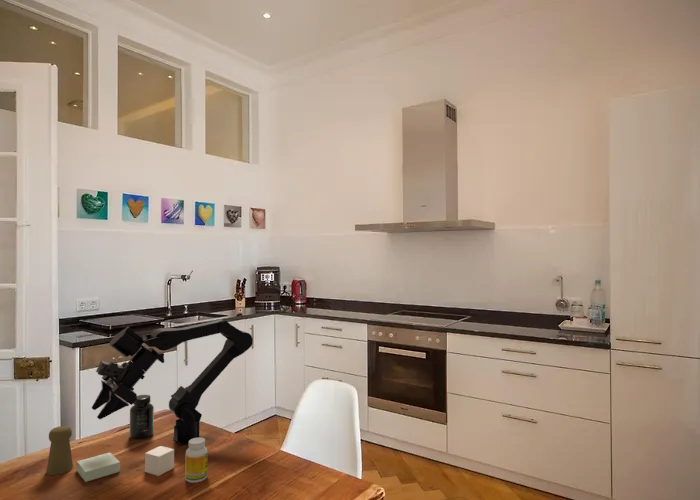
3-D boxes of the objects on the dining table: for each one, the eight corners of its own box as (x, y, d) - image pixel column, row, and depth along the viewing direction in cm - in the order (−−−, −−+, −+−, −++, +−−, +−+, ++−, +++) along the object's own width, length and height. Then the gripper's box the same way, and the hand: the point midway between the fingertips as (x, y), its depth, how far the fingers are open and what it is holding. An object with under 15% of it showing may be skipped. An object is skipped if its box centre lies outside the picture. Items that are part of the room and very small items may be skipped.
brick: (160, 464, 125) (160, 445, 125) (173, 468, 122) (174, 449, 122) (144, 472, 120) (145, 452, 120) (158, 476, 118) (158, 456, 118)
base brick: (109, 461, 126) (110, 452, 126) (119, 471, 120) (119, 461, 120) (76, 470, 120) (76, 461, 120) (85, 481, 114) (85, 471, 114)
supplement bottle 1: (158, 432, 147) (158, 394, 147) (143, 440, 140) (144, 401, 140) (139, 430, 148) (139, 392, 148) (124, 438, 142) (125, 399, 142)
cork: (60, 476, 117) (60, 432, 118) (40, 473, 119) (40, 430, 119) (78, 465, 123) (79, 424, 123) (59, 463, 125) (60, 422, 125)
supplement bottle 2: (184, 475, 118) (184, 438, 118) (205, 471, 120) (206, 434, 120) (186, 485, 113) (187, 446, 113) (209, 480, 116) (209, 442, 116)
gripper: (109, 344, 136) (66, 389, 130) (122, 355, 121) (75, 406, 115) (138, 366, 141) (99, 410, 135) (154, 379, 126) (111, 430, 120)
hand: (95, 413), depth 126 cm, fingers open, 9 cm apart
